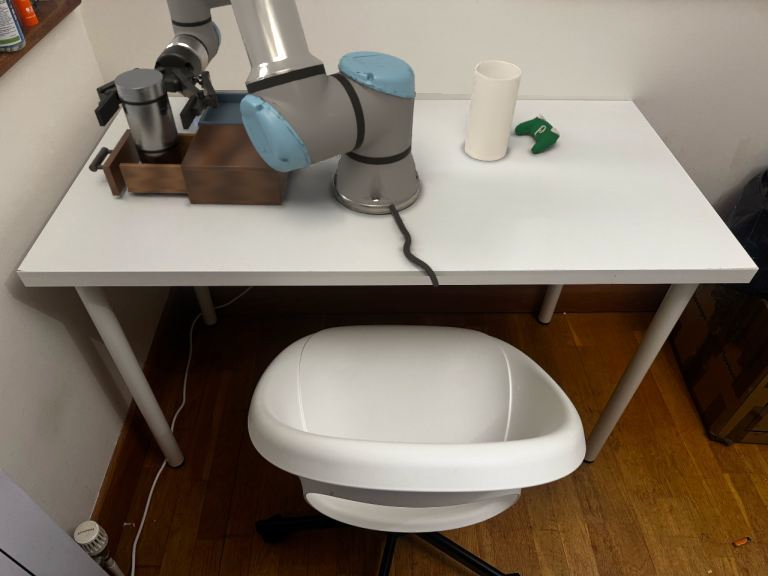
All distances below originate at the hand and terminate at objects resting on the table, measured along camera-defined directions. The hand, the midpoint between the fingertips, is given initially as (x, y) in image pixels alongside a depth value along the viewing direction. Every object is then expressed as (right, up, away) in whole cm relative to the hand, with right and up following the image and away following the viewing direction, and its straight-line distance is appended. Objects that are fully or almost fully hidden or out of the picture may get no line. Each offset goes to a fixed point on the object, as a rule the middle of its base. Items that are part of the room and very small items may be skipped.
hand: (141, 120), depth 90 cm
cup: (+59, 0, +21) cm, 62 cm away
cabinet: (+13, -8, +12) cm, 19 cm away
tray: (+9, +9, +28) cm, 31 cm away
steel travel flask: (0, -6, +10) cm, 12 cm away
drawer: (-2, -7, +11) cm, 13 cm away
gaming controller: (+69, +3, +24) cm, 73 cm away
